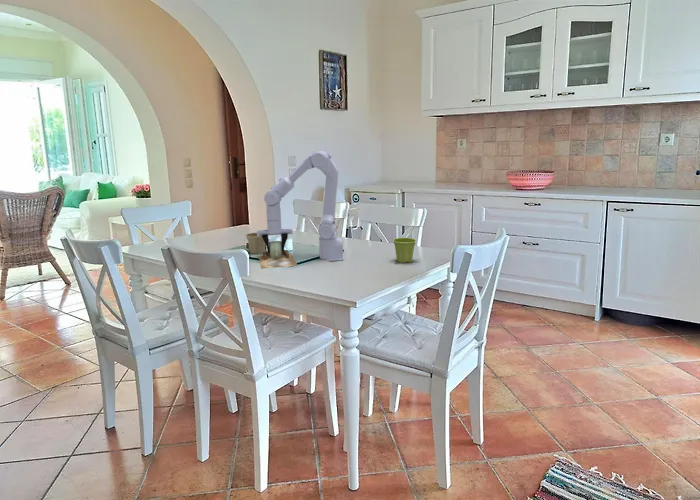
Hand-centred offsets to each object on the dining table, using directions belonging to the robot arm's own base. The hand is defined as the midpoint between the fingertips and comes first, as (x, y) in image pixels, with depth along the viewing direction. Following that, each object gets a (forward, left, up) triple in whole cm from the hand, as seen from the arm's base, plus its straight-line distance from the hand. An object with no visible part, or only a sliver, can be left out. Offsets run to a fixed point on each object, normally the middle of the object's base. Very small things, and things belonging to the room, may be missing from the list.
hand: (275, 251), depth 215 cm
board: (0, +6, -3) cm, 7 cm away
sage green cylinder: (0, +1, -2) cm, 3 cm away
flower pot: (+7, -12, -3) cm, 14 cm away
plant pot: (-50, +19, -3) cm, 54 cm away
